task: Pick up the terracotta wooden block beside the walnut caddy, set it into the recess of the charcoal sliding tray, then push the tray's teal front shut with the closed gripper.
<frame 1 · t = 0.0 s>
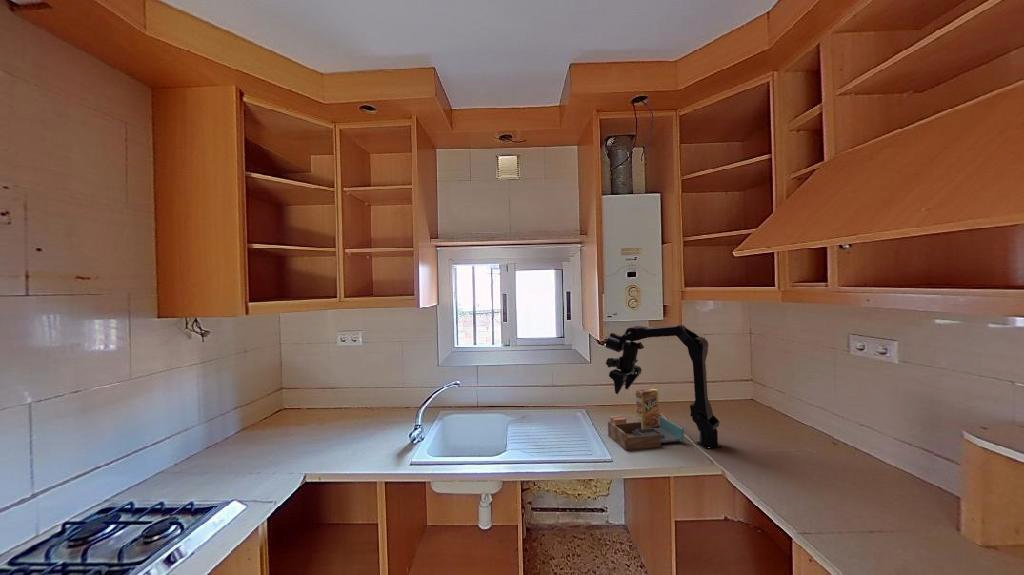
hand: (621, 391, 193), 15 cm above the counter, tool pointing down, fingers open, 9 cm apart
caddy frame: (630, 441, 177), on the counter
sliding tray: (655, 430, 179), point 3 cm above the counter, slide at 8.0 cm
candy box: (647, 426, 195), on the counter
terracotta block: (618, 429, 192), on the counter
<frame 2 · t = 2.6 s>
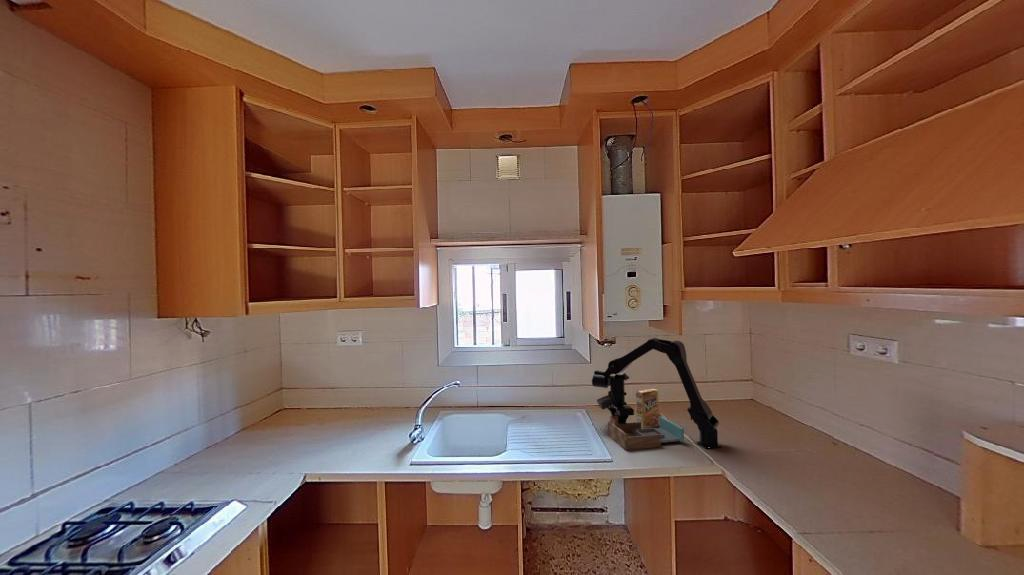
hand: (618, 426, 192), 1 cm above the counter, tool pointing down, fingers closed on terracotta block, 5 cm apart
terracotta block: (618, 429, 192), on the counter, touching gripper
everything else where it was.
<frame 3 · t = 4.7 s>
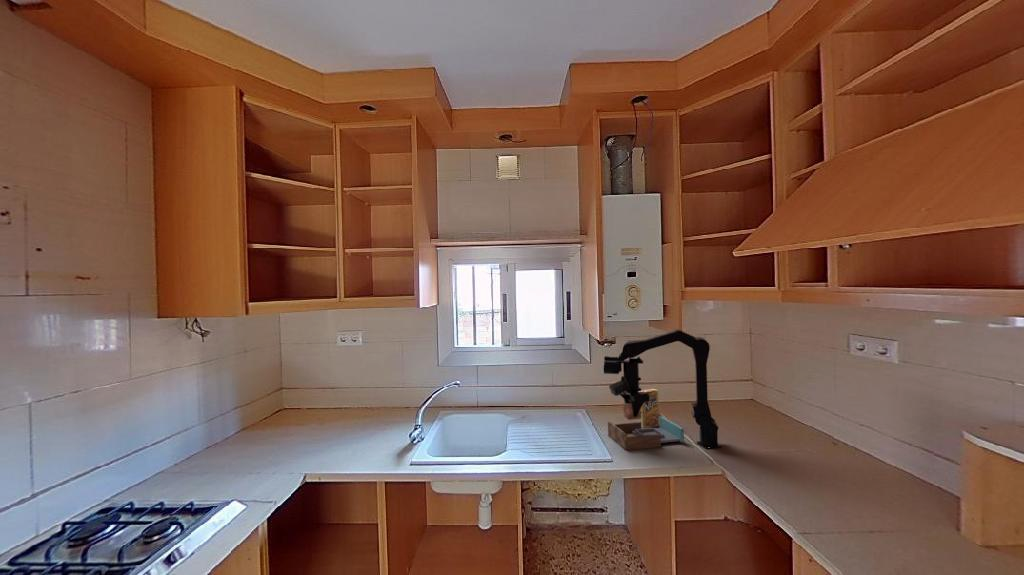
hand: (632, 414, 179), 10 cm above the counter, tool pointing down, fingers closed on terracotta block, 5 cm apart
terracotta block: (632, 417, 179), point 9 cm above the counter, touching gripper
everything else where it was.
when the fingers open (4 cm above the counter, at t = 7.0 s): terracotta block drops 1 cm, resting on sliding tray.
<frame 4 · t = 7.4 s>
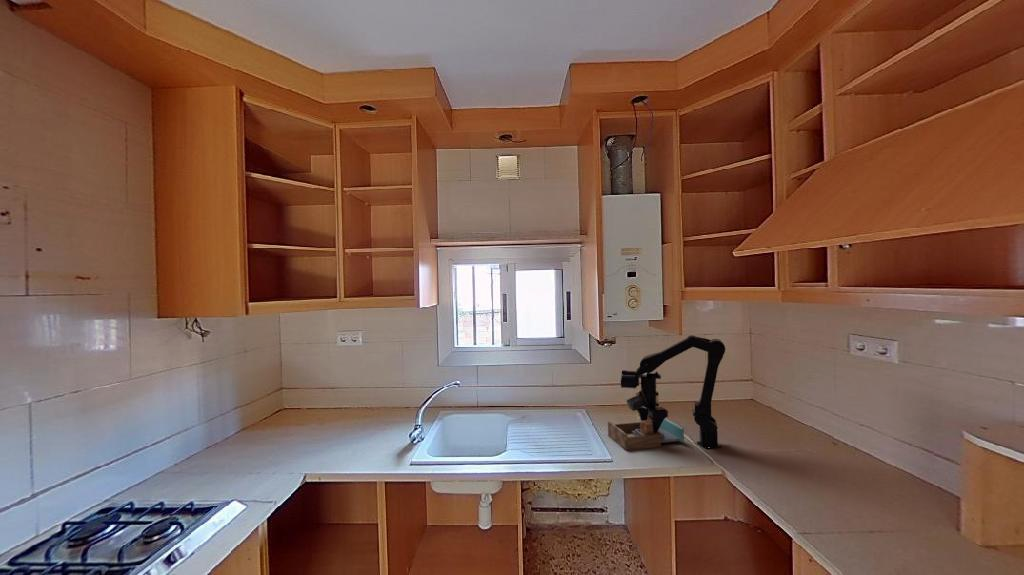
hand: (649, 429, 179), 4 cm above the counter, tool pointing down, fingers open, 9 cm apart
sliding tray: (655, 430, 179), point 3 cm above the counter, slide at 8.0 cm, touching terracotta block
terracotta block: (649, 435, 179), point 2 cm above the counter, touching sliding tray
everything else where it was.
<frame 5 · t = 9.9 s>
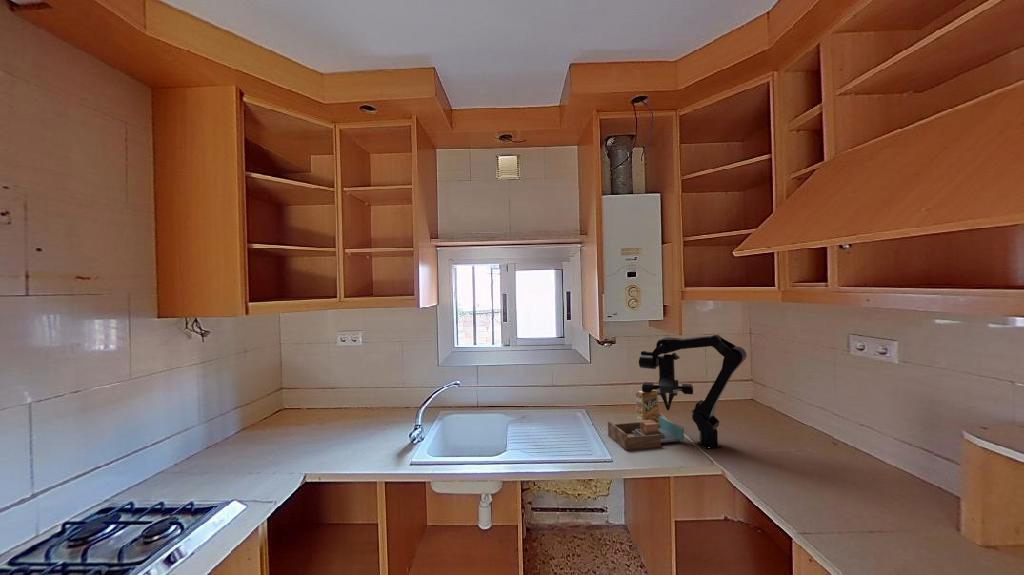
hand: (668, 410, 181), 11 cm above the counter, tool pointing down, fingers closed
nothing on the counter moved.
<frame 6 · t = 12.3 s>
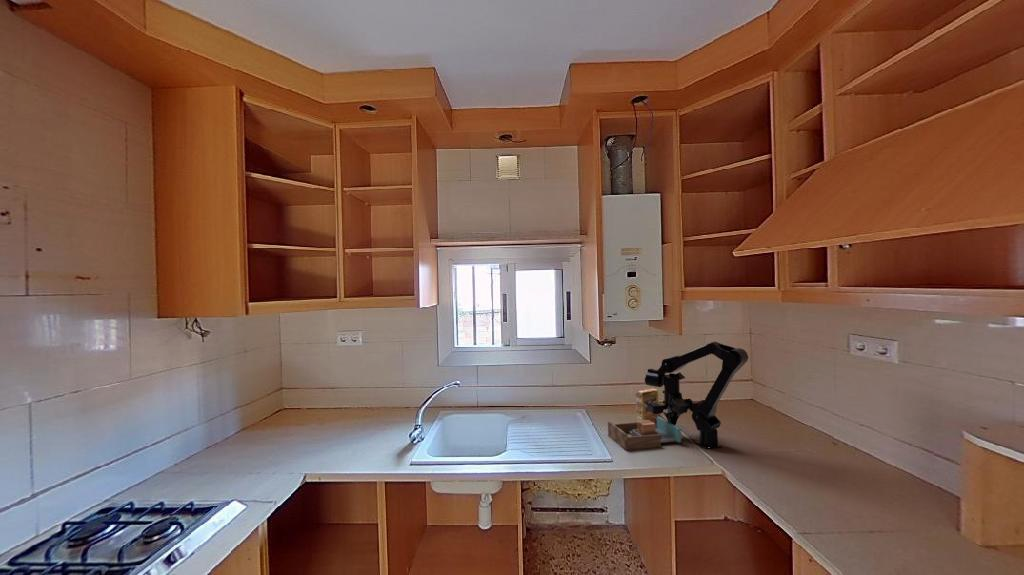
hand: (672, 428, 182), 3 cm above the counter, tool pointing down, fingers closed
sliding tray: (652, 430, 179), point 4 cm above the counter, slide at 6.8 cm, touching gripper, terracotta block
terracotta block: (646, 435, 179), point 2 cm above the counter, touching sliding tray
everything else where it was.
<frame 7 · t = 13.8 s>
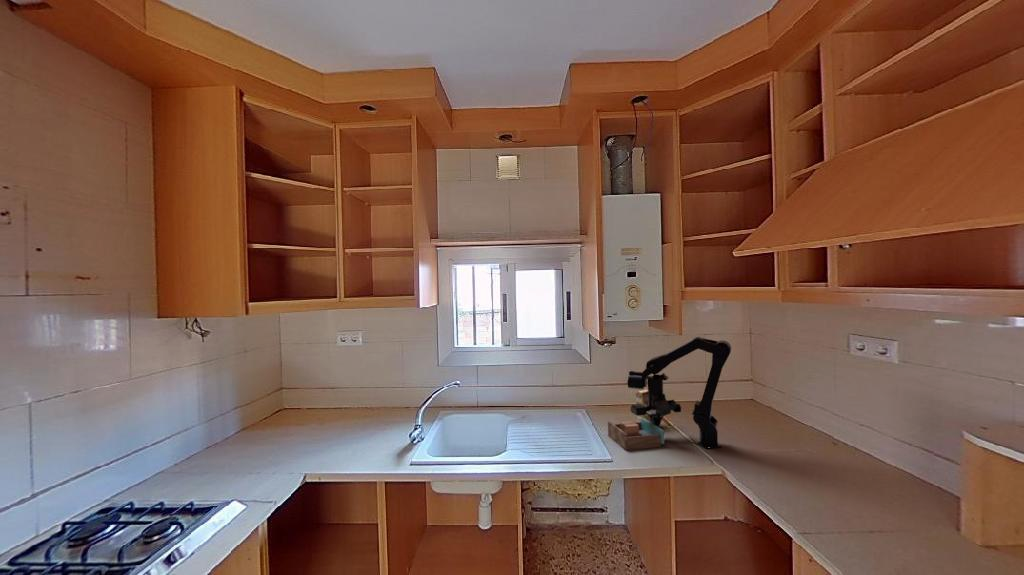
hand: (656, 430, 181), 3 cm above the counter, tool pointing down, fingers closed
sliding tray: (636, 431, 178), point 4 cm above the counter, slide at -0.1 cm, touching gripper, terracotta block
terracotta block: (629, 436, 177), point 2 cm above the counter, touching sliding tray
everything else where it was.
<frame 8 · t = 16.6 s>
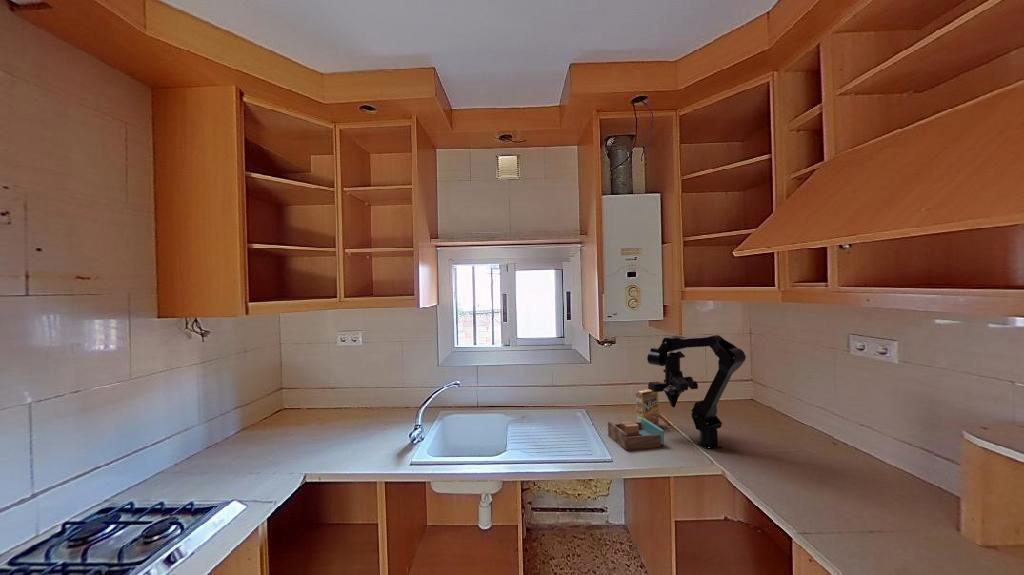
hand: (673, 407, 184), 11 cm above the counter, tool pointing down, fingers closed
sliding tray: (636, 431, 178), point 3 cm above the counter, slide at 0.0 cm, touching terracotta block
everything else where it was.
at the end: sliding tray slide at 0.0 cm; terracotta block inside the target area on the caddy frame (0.1 cm from its centre), point 1.8 cm above the caddy frame's base; terracotta block tilted 0° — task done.
